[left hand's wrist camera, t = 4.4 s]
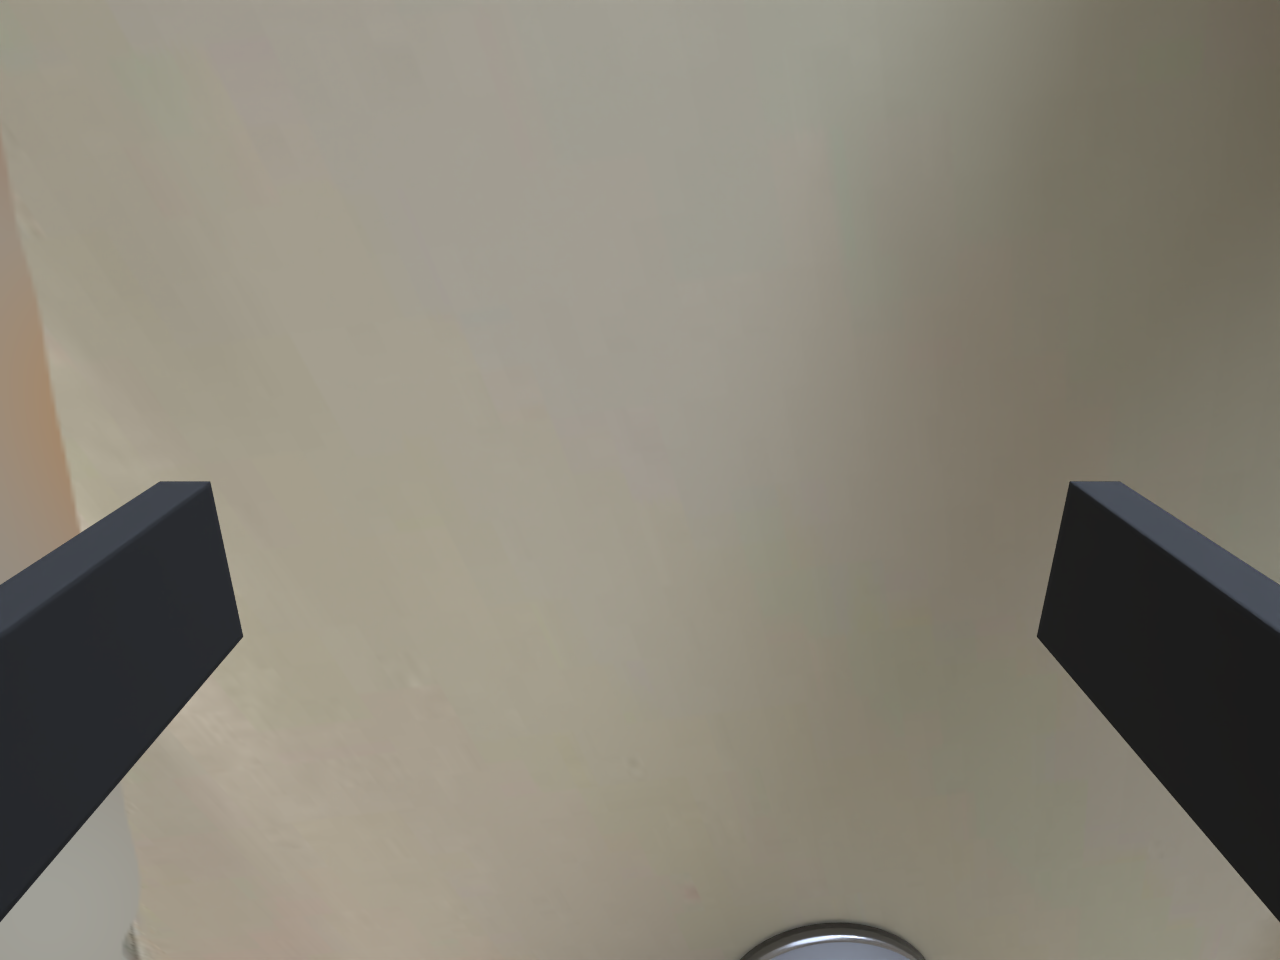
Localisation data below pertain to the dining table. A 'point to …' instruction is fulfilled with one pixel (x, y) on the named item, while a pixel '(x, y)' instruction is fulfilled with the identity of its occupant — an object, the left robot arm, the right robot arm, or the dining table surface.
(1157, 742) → the left robot arm
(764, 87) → the dining table surface
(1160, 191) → the dining table surface
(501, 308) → the dining table surface
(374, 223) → the dining table surface
